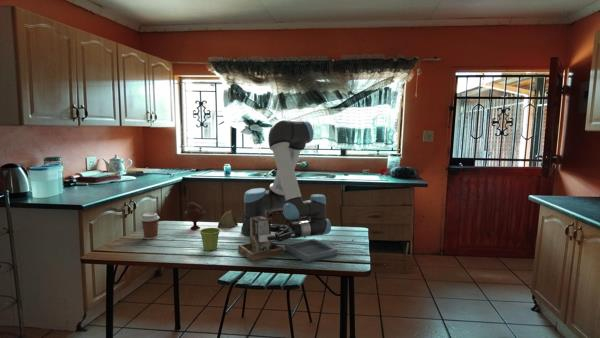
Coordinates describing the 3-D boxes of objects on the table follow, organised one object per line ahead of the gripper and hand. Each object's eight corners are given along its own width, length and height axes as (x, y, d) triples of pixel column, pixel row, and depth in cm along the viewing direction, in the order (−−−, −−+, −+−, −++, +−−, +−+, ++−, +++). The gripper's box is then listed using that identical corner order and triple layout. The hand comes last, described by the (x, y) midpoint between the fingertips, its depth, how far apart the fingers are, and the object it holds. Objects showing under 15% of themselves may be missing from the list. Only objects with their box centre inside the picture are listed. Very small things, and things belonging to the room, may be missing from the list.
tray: (285, 250, 166) (285, 244, 165) (313, 244, 174) (313, 238, 174) (306, 263, 151) (306, 256, 150) (336, 255, 159) (337, 249, 159)
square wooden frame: (238, 251, 164) (238, 244, 164) (267, 245, 172) (267, 239, 172) (252, 261, 152) (252, 254, 152) (283, 255, 160) (283, 248, 160)
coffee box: (271, 255, 160) (271, 219, 158) (258, 257, 157) (257, 221, 155) (262, 249, 168) (262, 215, 166) (249, 251, 164) (249, 216, 163)
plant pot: (224, 246, 171) (224, 228, 170) (213, 253, 162) (213, 234, 161) (207, 244, 174) (207, 226, 173) (195, 250, 165) (195, 232, 164)
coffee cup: (139, 236, 186) (138, 213, 184) (157, 233, 191) (156, 211, 190) (143, 241, 178) (142, 217, 177) (162, 237, 184) (161, 214, 183)
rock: (213, 224, 201) (228, 223, 198) (216, 210, 206) (231, 209, 202) (222, 231, 210) (237, 231, 207) (225, 218, 214) (240, 217, 211)
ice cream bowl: (199, 231, 195) (199, 204, 193) (181, 230, 197) (180, 203, 195) (208, 226, 205) (208, 200, 203) (190, 225, 207) (189, 199, 206)
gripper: (310, 245, 157) (263, 251, 149) (289, 230, 180) (247, 235, 172) (310, 228, 156) (263, 234, 148) (289, 215, 179) (247, 219, 171)
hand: (255, 234), depth 160 cm, fingers open, 13 cm apart
